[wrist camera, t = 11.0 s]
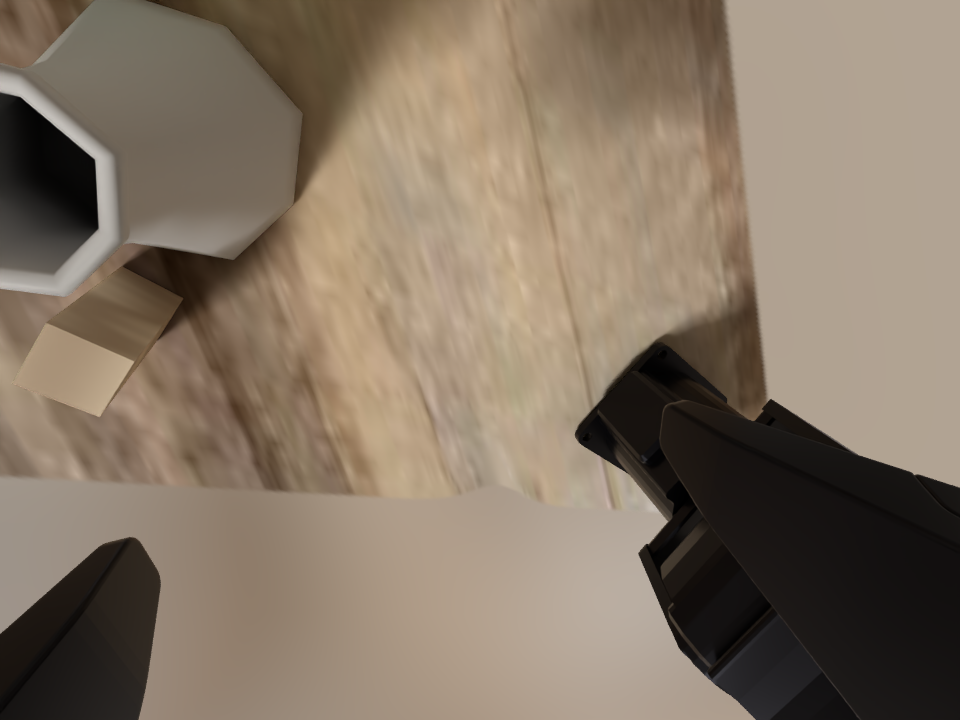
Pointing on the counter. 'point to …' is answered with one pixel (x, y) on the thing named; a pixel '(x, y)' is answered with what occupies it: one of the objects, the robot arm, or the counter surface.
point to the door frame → (98, 342)
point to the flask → (138, 145)
